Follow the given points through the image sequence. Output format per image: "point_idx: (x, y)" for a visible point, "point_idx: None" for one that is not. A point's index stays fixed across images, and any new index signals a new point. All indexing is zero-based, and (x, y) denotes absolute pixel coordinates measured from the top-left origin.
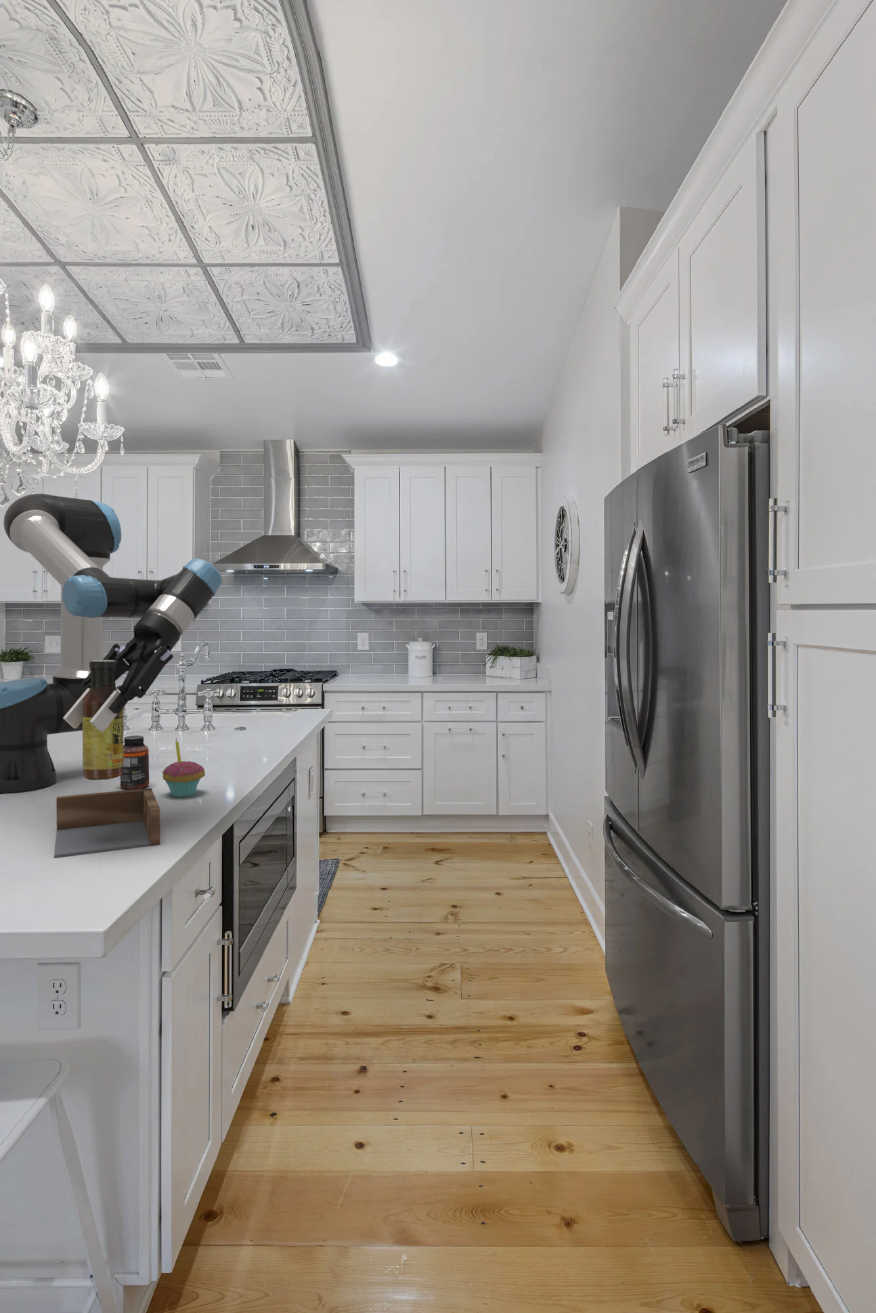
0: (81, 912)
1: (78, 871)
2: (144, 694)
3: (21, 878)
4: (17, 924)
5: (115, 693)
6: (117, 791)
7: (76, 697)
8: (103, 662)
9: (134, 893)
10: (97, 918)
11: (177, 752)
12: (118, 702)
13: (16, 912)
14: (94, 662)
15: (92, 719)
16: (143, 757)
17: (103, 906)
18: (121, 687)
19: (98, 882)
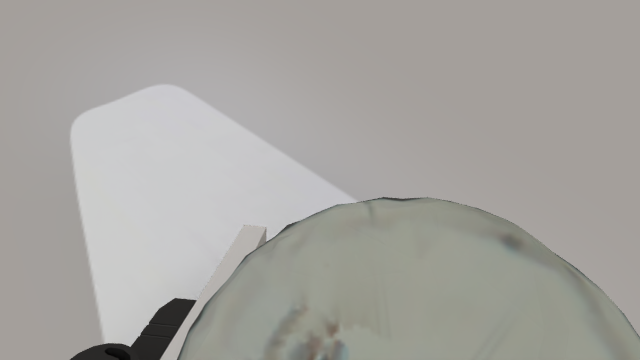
0: (121, 134)
1: (236, 230)
2: None
3: (295, 175)
4: (172, 88)
5: (166, 350)
6: None
7: None
8: (232, 277)
9: (88, 202)
10: (90, 130)
11: None
12: (141, 332)
13: (201, 105)
14: (365, 204)
15: (256, 233)
16: None
17: (105, 155)
18: (79, 356)
19: (170, 210)
